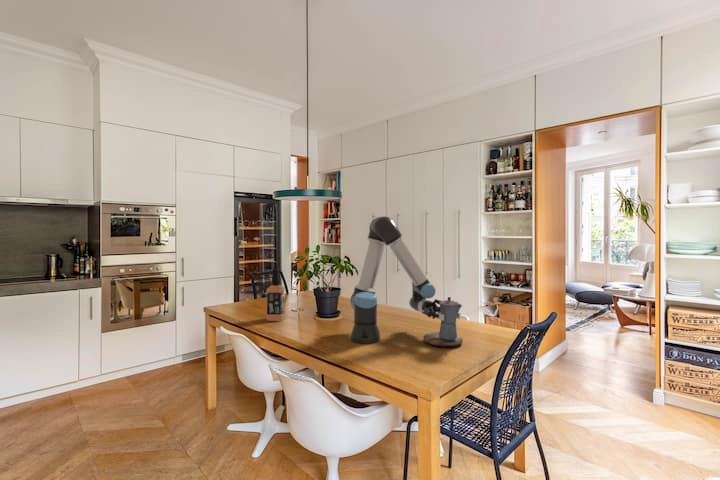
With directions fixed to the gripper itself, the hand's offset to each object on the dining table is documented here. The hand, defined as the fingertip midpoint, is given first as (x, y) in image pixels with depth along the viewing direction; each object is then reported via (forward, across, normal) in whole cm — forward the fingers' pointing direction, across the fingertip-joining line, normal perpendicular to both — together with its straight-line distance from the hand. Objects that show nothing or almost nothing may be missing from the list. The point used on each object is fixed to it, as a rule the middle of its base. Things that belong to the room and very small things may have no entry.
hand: (451, 316), depth 179 cm
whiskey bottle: (-84, +73, -15) cm, 112 cm away
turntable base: (-8, 0, -15) cm, 17 cm away
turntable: (-8, 0, -13) cm, 15 cm away
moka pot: (-4, 0, -11) cm, 12 cm away
